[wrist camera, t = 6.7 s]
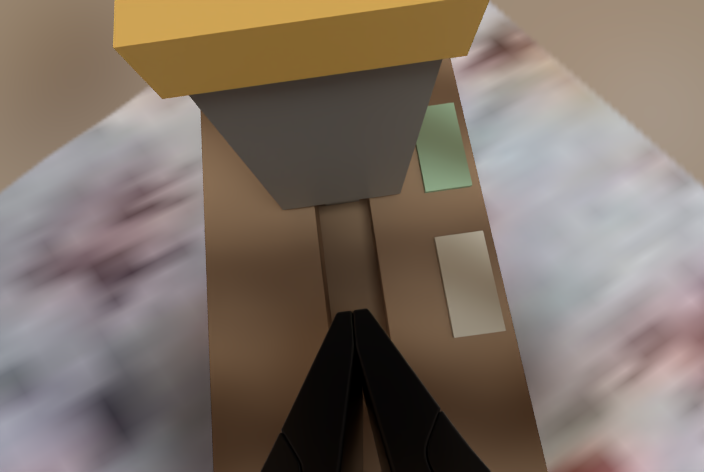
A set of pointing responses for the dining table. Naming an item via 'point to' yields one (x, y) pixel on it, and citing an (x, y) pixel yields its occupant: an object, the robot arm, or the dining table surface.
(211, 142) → the wooden slotted board
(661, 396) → the dining table surface
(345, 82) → the switch handle
